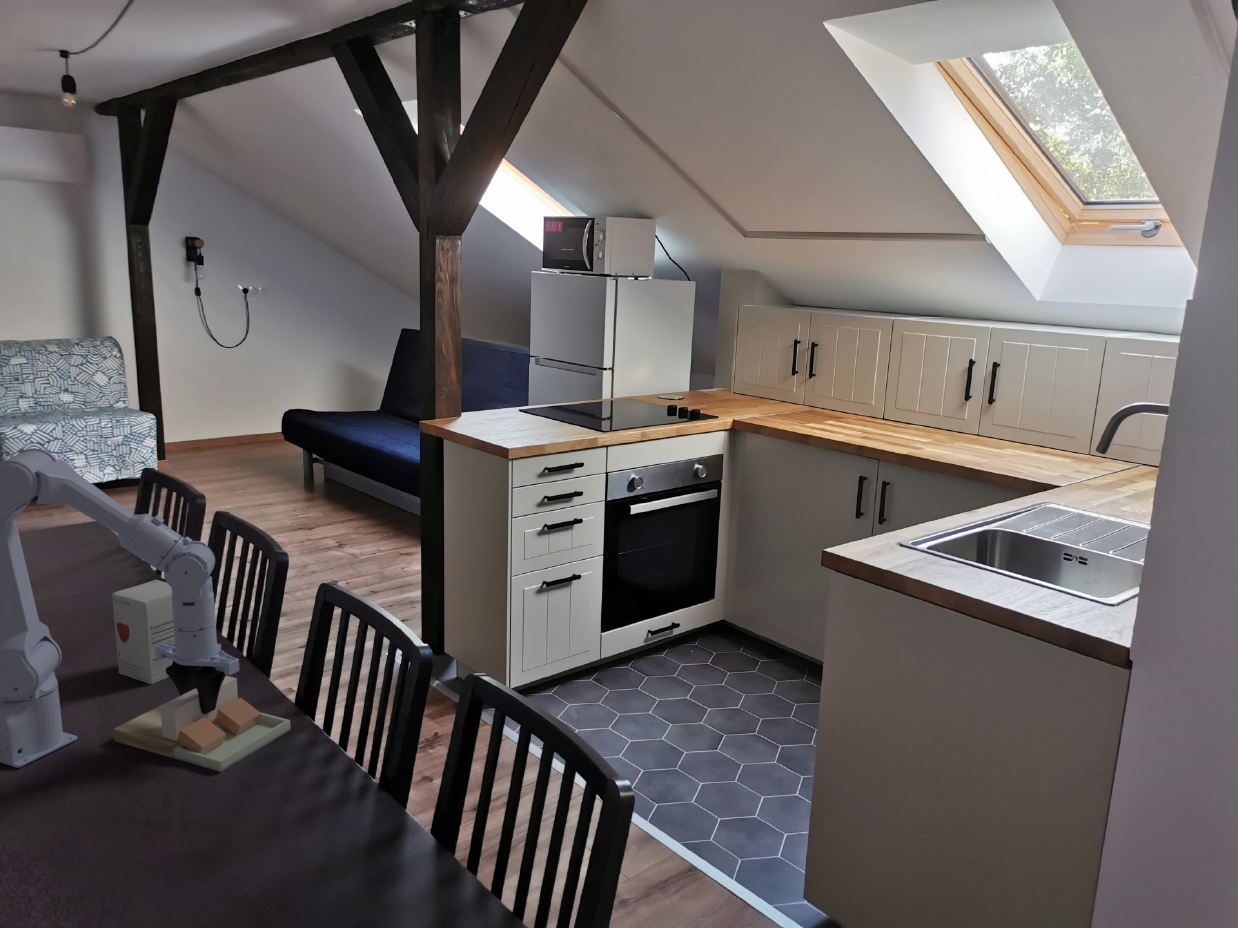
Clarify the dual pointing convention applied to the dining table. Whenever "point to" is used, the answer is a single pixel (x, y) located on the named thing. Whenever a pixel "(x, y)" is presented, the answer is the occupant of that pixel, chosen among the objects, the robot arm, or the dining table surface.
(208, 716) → the push bar
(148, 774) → the dining table surface
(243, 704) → the tile
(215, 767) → the tray
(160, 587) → the supplement box
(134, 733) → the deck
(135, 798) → the dining table surface
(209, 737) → the tile
